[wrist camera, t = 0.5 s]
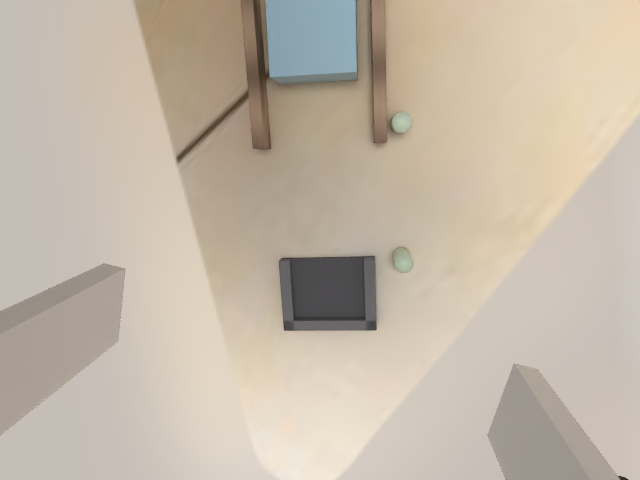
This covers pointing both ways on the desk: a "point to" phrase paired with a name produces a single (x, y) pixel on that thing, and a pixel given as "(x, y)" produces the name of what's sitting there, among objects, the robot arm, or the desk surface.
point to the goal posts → (401, 255)
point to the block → (312, 40)
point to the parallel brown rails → (258, 78)
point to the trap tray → (328, 293)
